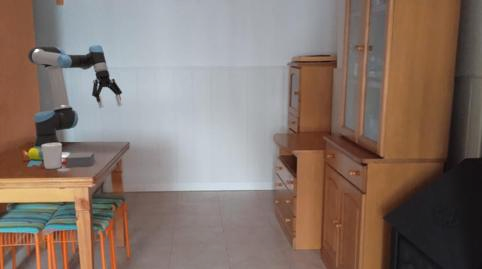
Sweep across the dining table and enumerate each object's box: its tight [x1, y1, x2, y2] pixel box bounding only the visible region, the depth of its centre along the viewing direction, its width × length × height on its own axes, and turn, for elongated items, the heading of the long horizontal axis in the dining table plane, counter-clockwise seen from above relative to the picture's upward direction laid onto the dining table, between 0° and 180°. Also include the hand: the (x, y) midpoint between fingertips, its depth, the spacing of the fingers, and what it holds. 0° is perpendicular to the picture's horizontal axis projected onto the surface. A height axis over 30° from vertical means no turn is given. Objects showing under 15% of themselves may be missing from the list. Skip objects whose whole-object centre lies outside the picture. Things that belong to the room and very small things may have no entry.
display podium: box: [65, 151, 95, 168], centre depth 238 cm, size 12×12×5 cm
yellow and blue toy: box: [22, 146, 44, 168], centre depth 248 cm, size 28×9×15 cm
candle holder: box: [41, 142, 63, 170], centre depth 232 cm, size 10×10×12 cm
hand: (110, 106), depth 261 cm, fingers open, 13 cm apart
